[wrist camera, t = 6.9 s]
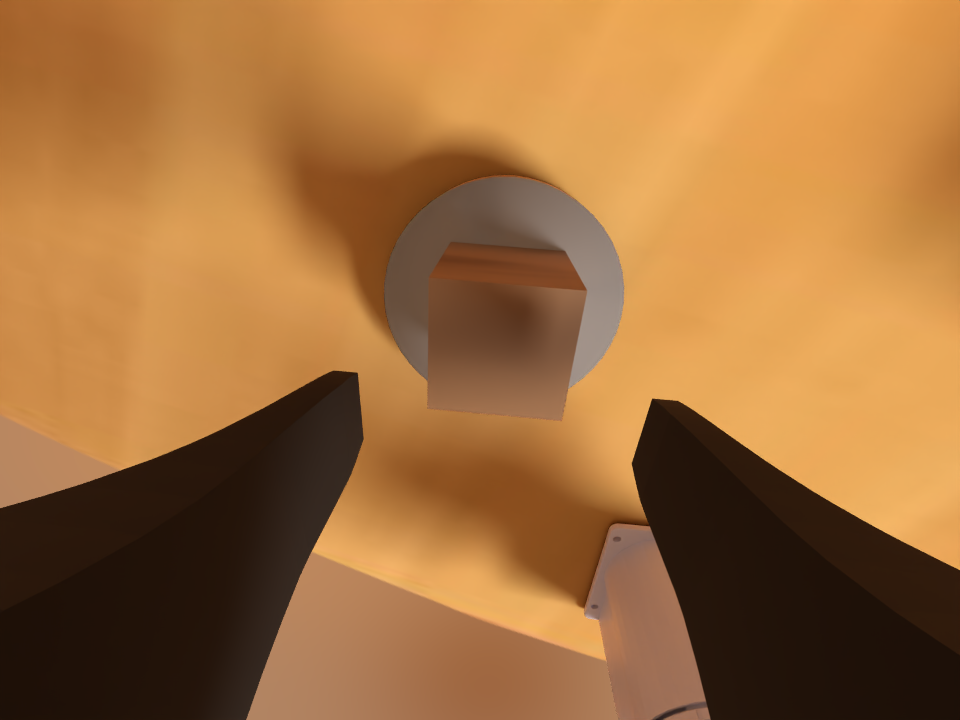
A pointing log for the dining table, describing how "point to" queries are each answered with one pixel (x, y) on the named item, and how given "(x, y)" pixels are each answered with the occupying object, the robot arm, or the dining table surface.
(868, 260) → the dining table surface
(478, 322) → the walnut block
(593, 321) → the grey disc
